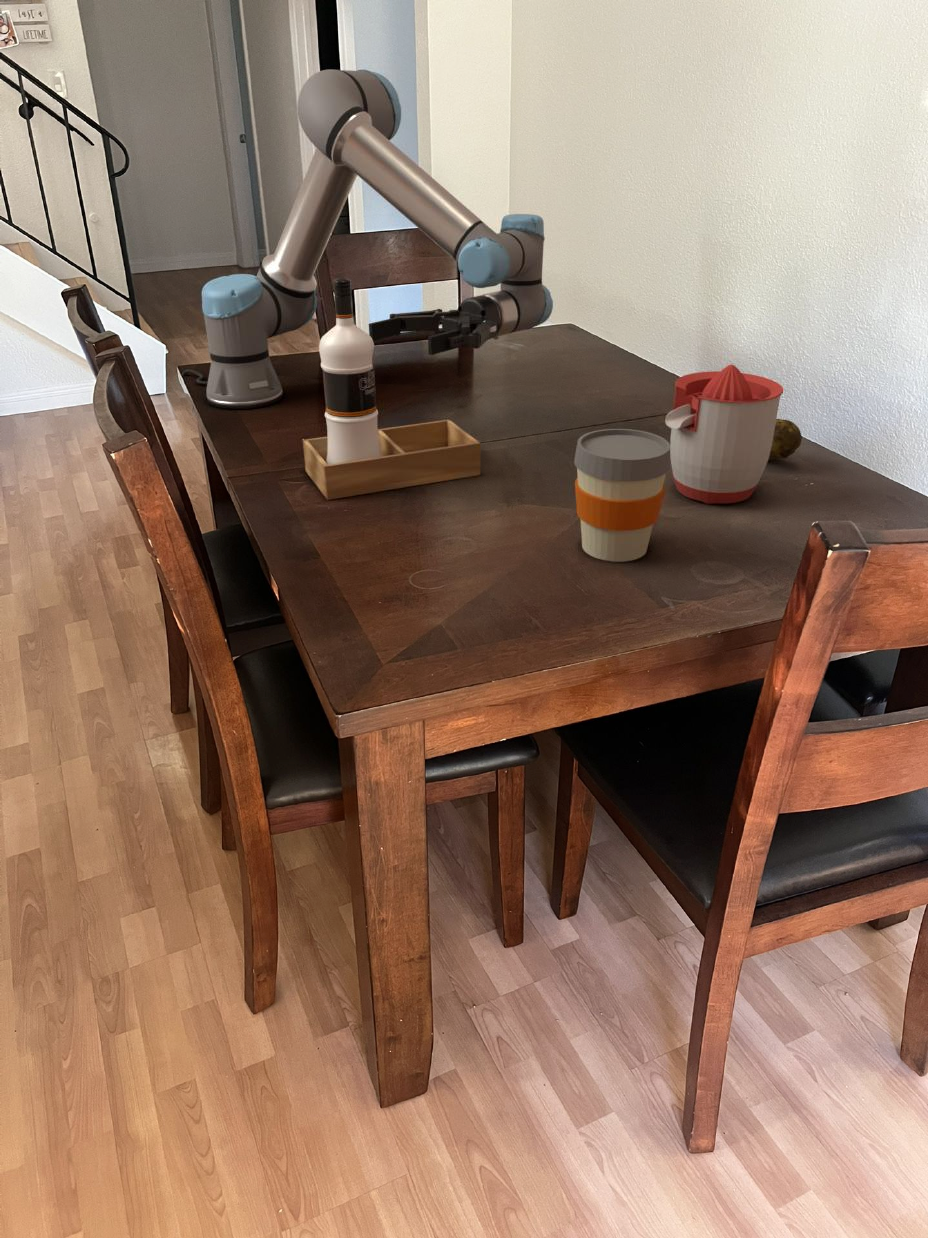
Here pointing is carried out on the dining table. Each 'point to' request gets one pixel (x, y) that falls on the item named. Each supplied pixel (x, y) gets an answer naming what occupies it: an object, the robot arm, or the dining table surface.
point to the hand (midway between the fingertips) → (399, 338)
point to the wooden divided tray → (397, 460)
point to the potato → (785, 439)
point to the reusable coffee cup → (619, 490)
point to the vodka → (349, 385)
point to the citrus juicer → (721, 433)
